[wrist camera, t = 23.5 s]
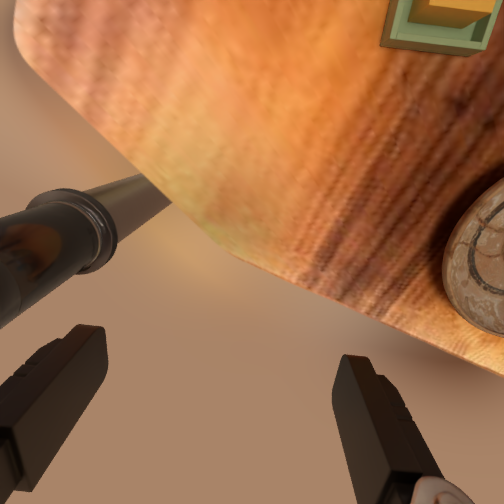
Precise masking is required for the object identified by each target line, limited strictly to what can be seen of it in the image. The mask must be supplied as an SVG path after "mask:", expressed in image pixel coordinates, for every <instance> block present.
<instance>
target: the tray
mask: <svg viewBox="0 0 504 504" xmlns="http://www.w3.org/2000/svg"><path fill="white" fill-rule="evenodd" d="M412 2H413V0H390V4H389V8H388V13H387V17H386V21H385V26H384V30H383V34H382V39H381V43H380V46H383V47H392V48H400V49H408V50H417V51H425V52H433V53H441V54H450V55H458V56H466V57H469V56H471V55H474V54H476V53H479V52H481V51H484V50H485V49H486V46H487V44H488V41H489V38H490V35H491V32H492V29H493V26H494V23H495V21H496V18H497V15H498V12H499V9H500V6H501V3H502V0H496V2H495V5H494V8H493V11H492V13H491V14H489V15H487V16H485V17H483V18H481V19H479V20H477V21H476V22H474V23H472V24H470V25H468V26H466V27H464V28H463V29H460V28H453V27H445V26H437V25H429V24H421V23H413V22H408V18H409V14H410V10H411V6H412Z"/></svg>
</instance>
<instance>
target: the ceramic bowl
mask: <svg viewBox="0 0 504 504" xmlns="http://www.w3.org/2000/svg"><path fill="white" fill-rule="evenodd" d="M442 279H443V284H444V288H445V291H446V294H447V296H448V298H449V300H450V302H451V304H452V305H453V307H454V308H455V309H456V311H457V312H458V313H459V314H460V315H461V316H462V317H463V318H464V319H465V320H466V321H468V322H469V323H470V324H472V325H473V326H475V327H477V328H478V329H480V330H482V331H484V332H487V333H489V334H492V335H496V336H499V337H503V338H504V177H503V178H502V179H500V180H499V181H498V182H496V183H495V184H494V185H492V186H491V187H490V188H488V189H487V190H486V191H485V192H484V193H483V194H482V195H481V196H480V197H478V198H477V199H476V200H475V202H474V203H473V204H472V205H471V206H470V207H469V208H468V209H467V211H466V212H465V213H464V214H463V215H462V217H461V218H460V220H459V221H458V222H457V224H456V226H455V227H454V229H453V231H452V233H451V235H450V237H449V239H448V242H447V245H446V247H445V251H444V256H443V262H442Z"/></svg>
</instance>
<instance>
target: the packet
mask: <svg viewBox="0 0 504 504" xmlns="http://www.w3.org/2000/svg"><path fill="white" fill-rule="evenodd" d="M495 2H496V0H413V2H412V6H411V10H410V14H409V18H408V22H413V23H421V24H429V25H437V26H445V27H453V28H460V29H463V28H464V27H466V26H468V25H470V24H472V23H474V22H476V21H477V20H479V19H481V18H483V17H485V16H487V15H489V14H491V13H492V11H493V8H494V5H495Z"/></svg>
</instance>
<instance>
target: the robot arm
mask: <svg viewBox="0 0 504 504" xmlns="http://www.w3.org/2000/svg"><path fill="white" fill-rule="evenodd" d="M102 244H103V240H102V234H101V231H100V228H99V226H98V224H97V222H96V221H95V220H94V218H93V217H92V216H91V215H90V214H89V213H88V212H87V211H86V210H84V209H83V208H81V207H80V206H78V205H76V204H74V203H71V202H67V201H51V202H47V203H44V204H42V205H40V206H37V207H34V208H31V209H27V210H24V211H21V212H18V213H15V214H12V215H8V216H5V217H2V218H0V329H1V328H3V327H4V326H5V325H7V324H8V323H9V322H11V321H12V320H13V319H15V318H16V317H17V316H19V315H20V314H21V313H23V312H24V311H25V310H27V309H28V308H30V307H31V306H32V305H34V304H35V303H36V302H38V301H39V300H40V299H42V298H43V297H45V296H46V295H47V294H49V293H50V292H51V291H53V290H54V289H55V288H56V287H58V286H60V285H61V284H62V283H64V282H65V281H66V280H68V279H69V278H70V277H72V276H73V275H75V274H76V273H78V272H82V271H85V270H87V269H88V268H90V267H91V266H90V267H87V268H84V267H86V266H88V265H89V264H91V263H92V262H93V261H95V260H96V259H97V257H98V256H99V254H100V252H101V250H102ZM83 268H84V269H83ZM107 370H108V355H107V344H106V334H105V329H104V328H103V327H101V326H92V325H82V324H79V325H76V326H75V327H74V328H73V329H72V330H71V331H70V332H69V333H68V334H67V335H66V336H65V337H64V338H63V339H60V338H59V339H58V338H57V339H55V340H54V341H52V342H50V343H48V344H47V345H45V346H43V347H41V348H40V349H38V350H37V351H36V352H35V353H34V354H33V355H32V356H31V357H30V358H29V359H28V360H27V361H26V362H25V364H24V365H22V366H21V367H20V368H18V369H17V370H16V371H15V372H14V375H13V376H10V377H9V378H8V379H7V380H6V381H5V382H4V383H3V384H2V385H1V386H0V504H5V502H6V501H7V499H8V498H9V496H10V495H11V493H12V492H13V490H16V491H25V492H32V491H33V489H34V488H35V486H36V484H37V483H38V481H39V480H40V478H41V477H42V475H43V474H44V472H45V471H46V469H47V467H48V466H49V464H50V463H51V461H52V460H53V458H54V457H55V455H56V454H57V452H58V451H59V449H60V447H61V446H62V444H63V443H64V441H65V440H66V438H67V437H68V435H69V433H70V432H71V430H72V429H73V427H74V426H75V424H76V422H77V421H78V419H79V418H80V416H81V415H82V414H83V412H84V410H85V409H86V407H87V406H88V404H89V403H90V401H91V400H92V398H93V397H94V395H95V393H96V392H97V390H98V389H99V387H100V386H101V384H102V383H103V381H104V379H105V376H106V374H107ZM332 406H333V411H334V414H335V418H336V422H337V426H338V430H339V434H340V438H341V442H342V446H343V449H344V453H345V457H346V461H347V465H348V469H349V473H350V477H351V481H352V484H353V488H354V492H355V496H356V500H357V504H475V503H474V502H473V501H472V500H471V499H470V498H469V497H468V496H467V495H466V494H465V493H464V492H463V491H462V490H461V489H460V488H458V487H457V486H455V485H454V484H452V483H451V482H449V481H447V480H445V478H444V476H443V475H442V473H441V471H440V469H439V467H438V465H437V463H436V461H435V460H434V458H433V456H432V454H431V452H430V450H429V448H428V447H427V444H426V443H425V441H424V439H423V437H422V435H421V433H420V431H419V429H418V428H417V426H416V424H415V422H414V421H413V420H412V416H411V414H410V412H409V411H408V409H407V408H406V407H405V403H404V401H403V399H402V397H401V395H400V394H399V392H398V390H397V388H396V387H395V386H394V385H393V384H392V383H391V382H390V381H389V380H388V379H387V378H386V377H385V376H384V375H377V374H376V372H375V370H374V368H373V366H372V364H371V362H370V360H369V359H368V358H367V357H364V356H355V355H346V354H344V355H343V356H342V358H341V361H340V365H339V368H338V371H337V375H336V378H335V382H334V385H333V389H332Z"/></svg>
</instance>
